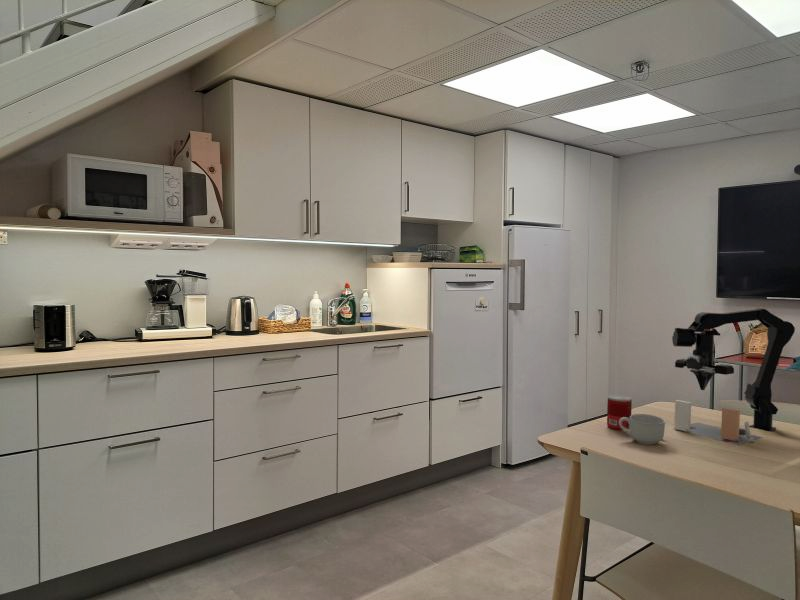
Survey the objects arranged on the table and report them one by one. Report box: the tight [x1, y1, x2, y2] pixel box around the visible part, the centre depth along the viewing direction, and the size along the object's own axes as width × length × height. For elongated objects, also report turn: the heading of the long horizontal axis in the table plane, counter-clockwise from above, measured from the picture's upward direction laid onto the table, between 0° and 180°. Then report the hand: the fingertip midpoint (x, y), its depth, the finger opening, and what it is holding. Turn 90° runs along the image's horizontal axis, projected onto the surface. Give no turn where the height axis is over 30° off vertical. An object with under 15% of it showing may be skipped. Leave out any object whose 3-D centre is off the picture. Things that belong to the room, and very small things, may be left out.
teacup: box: [619, 413, 666, 446], centre depth 185 cm, size 14×11×8 cm
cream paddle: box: [673, 399, 692, 432], centre depth 195 cm, size 3×5×10 cm, turn 34°
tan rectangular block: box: [720, 407, 741, 441], centre depth 185 cm, size 3×5×10 cm, turn 34°
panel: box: [672, 421, 764, 446], centre depth 192 cm, size 16×22×7 cm
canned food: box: [606, 394, 633, 431], centre depth 201 cm, size 8×8×11 cm
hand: (702, 390), depth 205 cm, fingers closed
